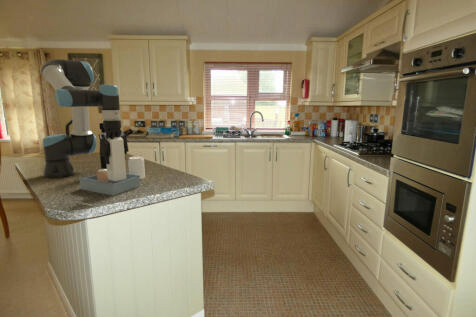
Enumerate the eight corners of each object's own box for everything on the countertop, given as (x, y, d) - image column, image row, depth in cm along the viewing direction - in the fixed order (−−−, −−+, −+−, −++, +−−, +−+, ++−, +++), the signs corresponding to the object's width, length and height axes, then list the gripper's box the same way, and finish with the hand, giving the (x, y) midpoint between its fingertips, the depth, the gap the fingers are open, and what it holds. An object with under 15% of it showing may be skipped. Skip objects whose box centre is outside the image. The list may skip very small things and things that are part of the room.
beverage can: (140, 181, 145) (138, 159, 143) (126, 180, 147) (124, 158, 145) (147, 177, 153) (146, 156, 151) (135, 176, 155) (133, 155, 152)
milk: (108, 179, 128) (103, 133, 124) (120, 176, 133) (115, 132, 129) (115, 181, 125) (110, 133, 121) (127, 178, 130) (122, 132, 125)
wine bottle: (106, 176, 154) (101, 123, 148) (99, 175, 157) (94, 123, 152) (116, 174, 159) (111, 123, 154) (109, 173, 163) (105, 122, 157)
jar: (94, 186, 133) (93, 170, 132) (102, 183, 139) (101, 168, 138) (105, 187, 132) (104, 171, 131) (113, 184, 138) (112, 169, 137)
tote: (79, 190, 130) (78, 178, 129) (109, 181, 144) (108, 170, 143) (113, 197, 120) (111, 183, 119) (140, 187, 135) (139, 175, 134)
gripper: (98, 121, 113) (103, 174, 118) (134, 118, 131) (138, 165, 135) (86, 120, 117) (92, 172, 121) (123, 118, 134) (127, 164, 138)
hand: (116, 168), depth 128 cm, fingers closed on milk, 7 cm apart
